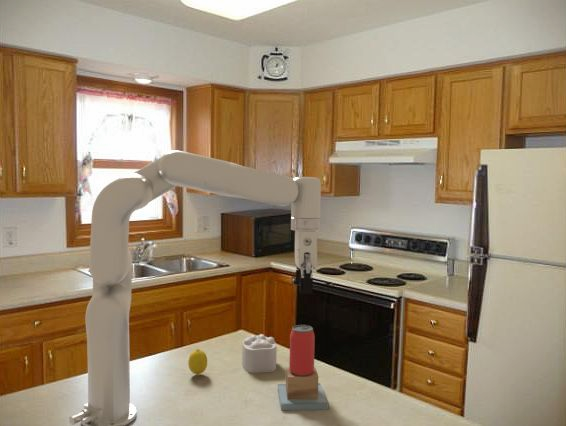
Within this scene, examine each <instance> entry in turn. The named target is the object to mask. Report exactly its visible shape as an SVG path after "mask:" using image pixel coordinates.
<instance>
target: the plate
mask: <svg viewBox="0 0 566 426" xmlns="http://www.w3.org/2000/svg"><path fill="white" fill-rule="evenodd" d="M277 392H278V400H279V406H280V411H302V410H303V411H305V410H306V411H307V410H314V411H315V410H328V401H327V398H326V395H325V392H324V390H323V387H322V385H321V383H320V382H318V399H287V393H286V383H277Z"/></svg>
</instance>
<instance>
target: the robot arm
mask: <svg viewBox="0 0 566 426" xmlns="http://www.w3.org/2000/svg"><path fill="white" fill-rule="evenodd" d="M176 187H180V188H185V189H190V190H195V191H199V192H200V191H201V192H205V193H208V194H209V193H210V194H214V195H218V196H223V197H224V196H225V197H230V198H240V199H245V200H250V201H254V202H259V203H264V204H268V205H273V206H274V205H275V206H279V207H287V206H290V205H291V208H290V209H291V212H290V216H291V217H290V230H291V231H294V262H295V265H296V270H295V285H297V286H299V294H305V295H307V294H313V291H314V290H313V287H314V284H313V282H314V278H313V269H314V270H316V269H317V268H318V239H317V237H318V236H317V232H318V231H320V230H321V229H320V227H321V226H320V225H321V223H320V222H321V196H322V193H321V192H322V191H321V190H322V183H321V180H320V178H318V177H315V176H296V177H290V176H288V175H285V174H279V173H277V172H276V173H275V172H271V171H267V170H261V169H257V168H252V167H248V166H243V165H240V164H238V163H236V162H230V161H227V160H222V159H217V158H213V157H211V156H206V155H205V156H204V155H200V154H196V153H192V152H187V151H182V150H177V149H176V150H174V149H173V150H172V149H171V150H169V151H167V152H165V153H164V154H163V155H162V156H161V157H159V158H157V159H156V160H154V161H152V162H151V163H149V164H147V165H145V166H143V167H141V168H140V169H137V171H134V172H133V173H130V174H126V175H124V176H122V177H119V178H117V179H115V180H113V181H112V182H110V183H108V184H106V186H104V187H103V189H101V190H100V192H99V194H98V195H97V197H96V198H95V200H94V204H93V206H92V211H91V220H90V221H91V225H90V242H89V245H90V246H89V247H90V248H89V261H88V269H89V273H90V276H91V277H92V296H91V298H90V300H89V302H88V304H87V307H86V311H85V316H84V317H85V321H84V322H85V333H86V345H87V346H86V349H87V355H86V357H87V401H88V402H87V403H85V404H83V409H82V410H81V411H80V412H79V413H76V414H74V415H72V416H69V418H68V419H69V423H70V425H71V426H74V425H76V424H78V423H80V422H81V424H82V426H127V425H129V424H130V423H132V422H133V421H134V420H135V419H136V417H137V408H136V406H135V405H134V404H132V403H131V396H130V395H131V392H130V391H131V388H130V387H131V384H130V383H131V382H130V377H131V375H130V374H131V373H130V370H131V368H130V367H131V365H130V329H129V328H130V311H131V303H132V289H133V288H132V284H133V283H132V282H133V281H132V280H133V279H132V278H133V256H132V251H131V250H130V248H129V234H130V218H131V217H132V215H133V213H134V212H135V211H137V210H140V209H143V208H145V207H146V206H147V205H148V204H149V203H150V202H152V201H154V200H156V199H158V198H159V197H160V196H162V195H165V194H167V193H168V192H170V191H172V190H173V189H174V188H176Z"/></svg>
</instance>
